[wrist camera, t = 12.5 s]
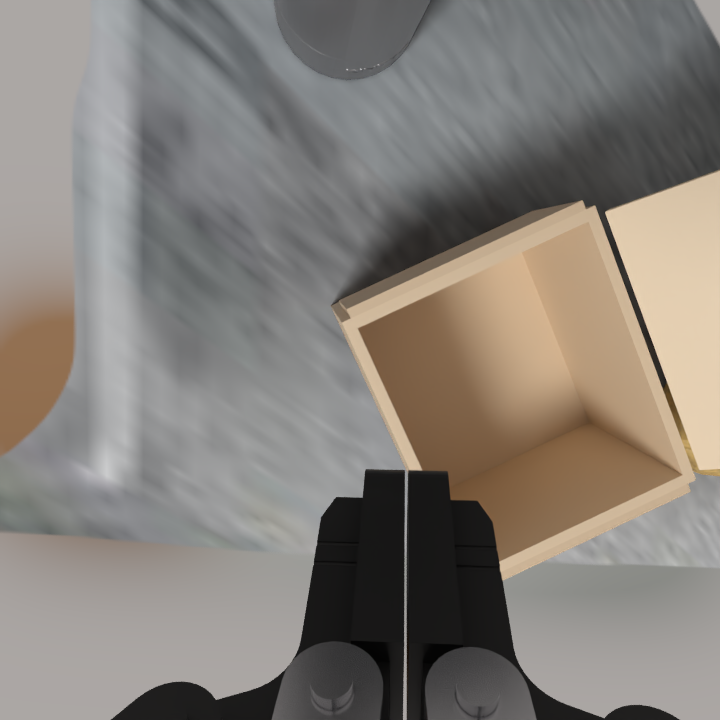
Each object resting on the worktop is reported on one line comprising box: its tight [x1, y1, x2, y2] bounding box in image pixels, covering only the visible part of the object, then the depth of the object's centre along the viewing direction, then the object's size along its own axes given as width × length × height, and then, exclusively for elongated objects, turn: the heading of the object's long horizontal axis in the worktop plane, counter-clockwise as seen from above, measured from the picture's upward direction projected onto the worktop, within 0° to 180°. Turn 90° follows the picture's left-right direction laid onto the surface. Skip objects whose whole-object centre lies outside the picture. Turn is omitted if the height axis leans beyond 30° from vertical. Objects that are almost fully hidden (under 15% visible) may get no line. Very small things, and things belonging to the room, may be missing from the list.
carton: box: [331, 200, 696, 581], centre depth 39 cm, size 17×14×12 cm
